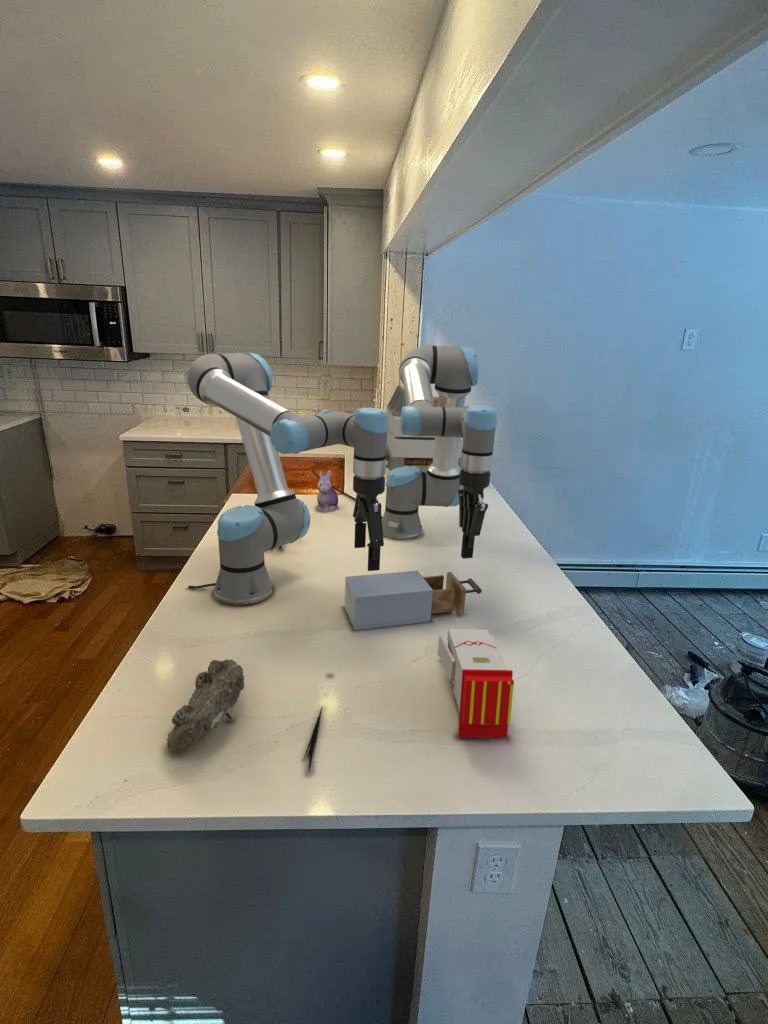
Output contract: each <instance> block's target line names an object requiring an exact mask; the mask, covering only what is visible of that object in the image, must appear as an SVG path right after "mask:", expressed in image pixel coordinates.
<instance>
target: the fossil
mask: <svg viewBox="0 0 768 1024" xmlns="http://www.w3.org/2000/svg"><path fill="white" fill-rule="evenodd" d="M243 670H244V669H243V667H242V665H240V664H237V662H236V661H235V660H234V659H232V658H231V659H227V658H226V659H224V660H223V661H222V660H217V659H212V660H211V661H210V663H209V665H208V666H207V671H201V672H199V673H198V674H197V675H196V676H195V680H194V684H195V685H194V687H195V689H194V690H193V693H192V694H191V697H190V698H189V700H188V704H184V705H182V706H181V707H180V709H177V710H176V711H175V713H174V715H173V716H172V718H171V723H172V724H173V727H172V730H171V731H170V732H168V734H167V738H166V741H167V742H166V745H167V749H168V750H169V751H173V752H174V753H176V754H178V753H182V752H188V751H189V752H192V751H193V750H195V748H196V747H197V746H199V744H200V743H201V742H203V741H204V740H205V739H206V738H207V737H208V736H209V735H210V734H211V733H212V732H214V730H215V729H217V727H218V726H219V724H220V722H221V721H222V720H223V719H224V718H225V716H226V717H227V719H229V720H233V717H232V715H230V714H229V710H230V709H231V708H234V706H235V704H236V703H237V702H238V699H239V697H240V695H241V693H242V691H243V690H245V689H244V688H245V675H244V671H243Z"/></svg>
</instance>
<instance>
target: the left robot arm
mask: <svg viewBox="0 0 768 1024" xmlns="http://www.w3.org/2000/svg"><path fill="white" fill-rule="evenodd" d="M273 378H274V377H273V373H272V369H271V367H270V365H269V364H268V362H267V361H266V359H265V358H263V357H262V356H260V355H259V354H257V353H254V352H245V351H241V352H230V353H229V352H228V353H227V352H226V353H207V354H203V355H201V356H200V357H197V358H196V359H195V360H194V361H193V362H192V363H191V365H190V367H189V368H188V372H187V384H188V388H189V389H190V392H191V393H192V394H193V396H195V398H197V399H198V400H199V401H200V402H202V403H204V404H206V405H208V406H211V407H218V408H221V409H222V410H224V411H225V412H227V413H229V414H231V415H232V416H234V417H235V418H236V423H237V426H238V429H239V432H240V436H241V437H240V438H241V440H242V443H243V447H244V451H245V454H246V457H247V462H248V465H249V468H250V473H251V476H252V479H253V483H254V487H255V490H256V494H257V497H256V499H255V501H254V502H253V503H254V505H251V504H250V505H249V504H248V505H247V504H246V505H244V506H242V505H238V506H234V507H231V508H229V509H226V510H225V511H224V512H222V513H221V514H220V516H219V517H218V520H217V531H216V533H217V538H218V540H217V541H218V555H219V571H218V574H217V578H216V581H215V583H213V582H212V583H206V584H200V585H188V586H187V588H188V589H195V590H196V589H197V590H198V589H203V588H210V587H214V589H213V591H214V598H215V599H216V600H217V601H219V602H221V603H222V604H225V605H230V606H237V607H239V606H249V605H254V604H259V603H261V602H263V601H265V600H266V599H268V598H269V597H271V595H272V593H273V582H272V579H271V578H270V574H269V572H268V570H267V567H266V562H265V561H266V560H265V553H267V552H269V551H271V550H274V549H277V548H279V547H280V546H282V547H283V546H286V545H288V544H294V543H295V542H296V541H298V540H300V539H303V538H304V537H305V536H306V535H307V534H308V531H309V529H310V526H311V513H310V510H309V507H308V506H307V504H306V503H305V501H303V500H301V498H297V496H296V495H297V494H296V492H295V491H293V490H291V489H290V488H289V487H288V483H287V480H286V476H285V472H284V468H283V464H282V461H281V458H280V457H281V456H280V454H282V455H291V454H292V455H293V454H295V455H296V454H297V455H298V454H300V453H302V452H307V451H311V450H316V449H322V448H326V447H330V446H336V445H341V446H347V447H351V448H353V460H352V461H353V463H352V464H353V465H352V473H353V477H352V490H353V492H354V493H355V494H356V495H355V498H356V501H355V500H354V507H353V513H352V517H353V518H354V523H355V524H354V549H365V548H366V547H368V548H367V550H368V551H367V571H368V572H374V571H380V568H381V567H380V566H381V547H384V546H385V542H384V536H383V528H382V517H383V516H382V503H381V502H379V500H378V498H377V497H378V496H379V495H382V494H384V492H386V477H385V475H386V466H385V465H387V464H388V462H387V461H386V445H387V433H388V420H387V413H386V412H387V410H385V409H382V408H378V407H359V408H357V409H356V410H354V414H353V413H348V412H345V411H344V412H343V411H340V410H338V409H322V410H320V411H319V412H318V413H317V414H314V415H306V416H302V415H300V414H297V413H295V412H294V411H291V410H290V409H288V408H286V407H285V406H282V405H281V404H278V403H277V402H274V401H273V400H271V399H270V396H269V392H270V391H271V389H272V388H273V384H272V383H273V380H274V379H273ZM381 516H382V517H381ZM367 531H368V532H367ZM367 533H368V539H369V542H368V543H367V544H366V538H367V537H366V536H367Z"/></svg>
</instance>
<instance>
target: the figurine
mask: <svg viewBox="0 0 768 1024" xmlns="http://www.w3.org/2000/svg"><path fill="white" fill-rule="evenodd" d="M318 473H319V474H318V475H319V477H320V479H319V481H318V483H317V484H316V485H317V490H318V493H317V495H316V502H317V506H316V508H317V511H319V512H331V511H335V510H336V509H338V506H339V496H338V493H337V490H335V489H333V488H332V486H333V484H332V482H331V480H330V479H331V476H332V470H330V469H329V470H328V471H327V472H326V474H325V473H324V472H323V471H322V470H320V471H319V472H318Z"/></svg>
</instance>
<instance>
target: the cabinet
mask: <svg viewBox="0 0 768 1024" xmlns="http://www.w3.org/2000/svg"><path fill="white" fill-rule="evenodd" d="M423 577H424V576H422V574H421V572H419V570H409V571H397V572H385V573H384V572H383V573H373V574H363V575H349V576H345V578H344V579H345V580H344V584H345V585H344V609H345V611H346V614H347V616H348V618H349V621H350V623H351V625H352V628H353V630H354V631H357V630H358V631H359V630H367V629H376V628H385V627H386V628H387V627H393V626H402V625H403V626H404V625H411V624H421V623H422V624H423V623H429V622H431V619H432V618H431V616H432V613H431V607H432V595H433V590H432V588H431V587H430V586H429V584H428V583H427V582H426V581H425V579H424V578H423Z"/></svg>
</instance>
